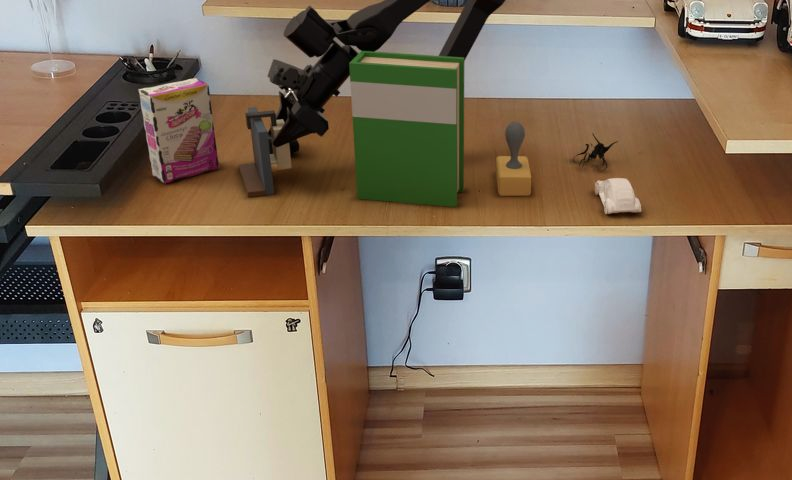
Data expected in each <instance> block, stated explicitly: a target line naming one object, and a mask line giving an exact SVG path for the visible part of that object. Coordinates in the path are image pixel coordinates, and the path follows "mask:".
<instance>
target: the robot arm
mask: <svg viewBox="0 0 792 480" xmlns="http://www.w3.org/2000/svg"><path fill="white" fill-rule="evenodd" d="M430 1H431V0H382V1H381V2H378V3H374V4H370V5H368V6H366V7H363V8H362V9H359V10H358V11H356V12H355V11H354V13H352V14H351V15H350V16H349V17H348V18H346V19H342V20H337V21H332V22H328V21H327V20H325V19H324V17H322V16H321V15H320V14H319V12H317V10H316V9H315V8H314V7H313V6H311V5H307V7H306V8H305V9H304V10H301V11H300V12H299V13H297V14H296V15H295V16H293V17H292V18H291V19H290V21H289V22H288V23H287V25H286V26H285V28H284V30H283V37H284V38H286V39H287V40H288V41H289V42H290V43H291V44H293V45H294V46H295V47H296V48H298V50H300V51H301V52H302V53H304V54H305V55H306V57H308V58H310V59H311V58H314V57H316V58H319V59H318V60H317V61H316V62H315V63H314V65H312V64H307V65H305V67H304V68H303V69H302V68H300V67H297V66H295V65H293V64H290V63H287V62H284V61H281V60H278V59H274V58H273V59H272V62H271V64H270V67H269V70H268V72H267V78H268V79H269V82H270V83H271V84H273V85H275V86H278V88H279V89H280V90H284V91H283V92H282V91H280V90H279V91H278V96H279V103H280V105H279V107H278V110H277V112H276V120H280V119H283V120H284V122H285V124H284V125H283V127H282V128H281V130H280V131H279V133H278V135H277V136H276V138H275V140H274V141H273V145H274V146H275V147H280V146H282V145H284V144H287V143H289V142H291V141H293V140H296V139H297V140H298V139H300V138H304V137H306V136H308V135H311V134H313V135H314V134H316V135H318V136H319V137H321V138H322V137H323V136H324V135H325V133H327V132H328V131H329V130H330V128H329V120H328V119H327V117H326V116H325V115H324V114H323V113H324V112H325V111H326V109H325V108H324V107H325V106H326V104H327V103H328V102H329V101H330V100H331V99H332V97H333V96H335V97H338V96H339V95H340V94H341V92H340V90H339V89H340V88H341V87H342V86H343V84H344V83H345V82H346V81H347V80H348V79H349V78H350V68H349V63H350V62H351V61H352V60H353V59H354V58H355V57H356V56H357V55H358V54H359V53H360V52H361V51H373V52H378V50H380V49H381V48H382V47H383V46H384V45H385V43H387V42H388V40H389V39H391V38H392V36H393V35H394V34H395V31H396V30H397V28H398V27H399V26H400V24H401V23H403V21H404V20H406V19H407V18H409V17H410V16H412V15H413V14H415V13H416V12H417V11H418V10H419V9H421V8H422V7H424V6H425V5H426V4H427V3H429V2H430ZM506 1H507V0H466V2H465V5H464V7H463V8H462V11H461V13H460V14H459V16H458V18H457V20H456V22H455V24H454V25H453V28H452V30H451V31H450V33H449V35H448V37H447V39H446V40H445V43H444V44H443V46H442V48H441V49H440V52H439V54H438V56H448V57H463V58H464V62H465V61H466V59H467V57H468V56H469V54H470V52H471V50H472V48H473V46H474V44H475V42H476V40H477V39H478V37H479V35H480V33H481V31H482V30H483V27H484V26H485V24H486V22H487V20H488V19H489V17H490V16H491V15H493V13H495V12H496V11H497V10H498V9H499V8H500V7H502V6H503V5H504V4H505V2H506ZM335 38H336V39H337V40H338V41H339V42H340V43H342V44H343V45H341V44H340V43H339V42H338V41H337V40H336V39H335ZM353 47H355V48H357V49H358V50H359V51H360V52H358V50H356V49H355V48H353ZM267 132H268V134H269V135H270V136H271V129H270V128H269V130H267Z"/></svg>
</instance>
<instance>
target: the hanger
mask: <svg viewBox="0 0 792 480" xmlns="http://www.w3.org/2000/svg"><path fill="white" fill-rule="evenodd" d="M244 114H245V123H246V128H247V130H251V121H250V119H252V118H261V119H263V118H270V120H269V129H271V138H272V147H273V154H270V161H271V164H274V163H277V165H278V171H279V170H280V171H281V170H286V169H287V170H288V169H292V160H291V159H292V158H291V154H290V147H289V143H287V144H284V145H282V146H280V147H275V146H274V145H273V141H274V140H275V138H276V136H277V135H278V133H279V131H280V130H281V128H282V127H283V125H284V124H285V122H284V120H283V119H280V120H276V114H277V112H276V111H275V110H274V109H272V110H264V111H263V110H262V111H258V112H250V113H249V112H245V113H244Z"/></svg>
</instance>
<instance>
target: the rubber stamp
mask: <svg viewBox="0 0 792 480" xmlns="http://www.w3.org/2000/svg"><path fill="white" fill-rule="evenodd" d="M525 130H526V129H525V128H524V125H523V124H522V123H521V122H518V121H512V122H510V123H509V124H508V125H507V126H506V128H505V132H504V133H505V134H504V136H505V141H506V144H507V146H508V150H509V154H510V155H498V156H497V157H496V158H495V159H496V161H495V162H496V163H495V177H496V185H497V193H498V195H499V196H502V197H503V196H504V197H505V196H507V197H509V196H510V197H511V196H514V197H515V196H518V197H519V196H522V197H523V196H526V197H528V196H530V195H531V193H532V173H531V169H530V164H529V163H530V162H529V158H528V157H527V156H524V155H519V153H520V149H521V147H522V145H523V143H524V139H525V135H526V131H525Z"/></svg>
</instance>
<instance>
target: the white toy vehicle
mask: <svg viewBox="0 0 792 480" xmlns="http://www.w3.org/2000/svg"><path fill="white" fill-rule="evenodd" d="M594 193H595V195H596V196H599V197H600V200H601V203H602V206H603V211H604V214H605V215H611V214H619V213H634V214H639V213H642V205H641V201H640V199H639V198H638V197H636V195H635V194H636V193H635V191H634V189H633V187H632V184H631V181H629V180H628V179H627V178H623V177H613V178H607V179H606V180H597V181H596V182H594Z"/></svg>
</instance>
